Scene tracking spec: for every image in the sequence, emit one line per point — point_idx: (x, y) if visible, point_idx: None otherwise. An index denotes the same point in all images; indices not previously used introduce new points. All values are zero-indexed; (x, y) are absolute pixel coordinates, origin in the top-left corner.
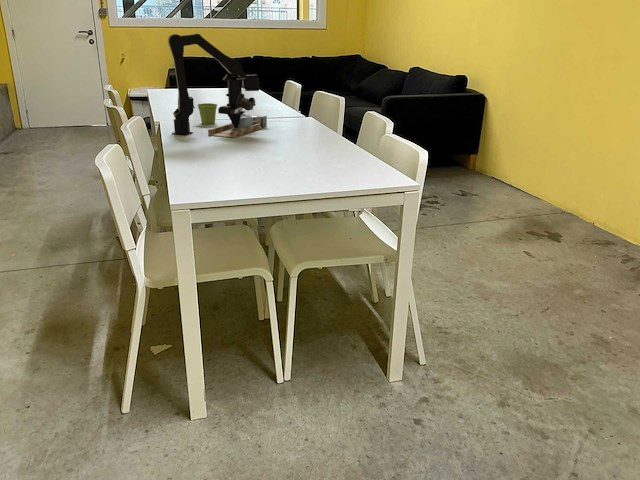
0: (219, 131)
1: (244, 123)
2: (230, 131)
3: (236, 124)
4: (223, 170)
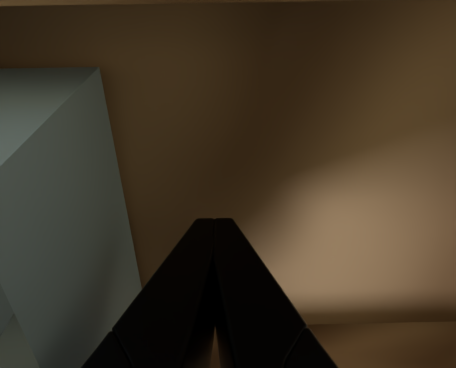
0: (406, 328)
1: (48, 156)
2: (305, 243)
3: (261, 264)
4: None
